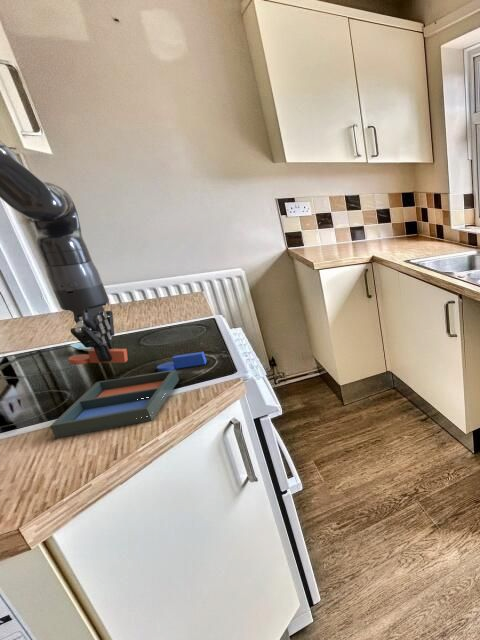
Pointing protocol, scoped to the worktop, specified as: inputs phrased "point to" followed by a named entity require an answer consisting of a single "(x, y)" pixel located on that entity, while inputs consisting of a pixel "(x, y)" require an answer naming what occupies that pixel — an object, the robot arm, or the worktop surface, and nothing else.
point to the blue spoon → (183, 361)
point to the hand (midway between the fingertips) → (108, 359)
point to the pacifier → (80, 346)
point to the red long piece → (116, 354)
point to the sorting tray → (116, 403)
